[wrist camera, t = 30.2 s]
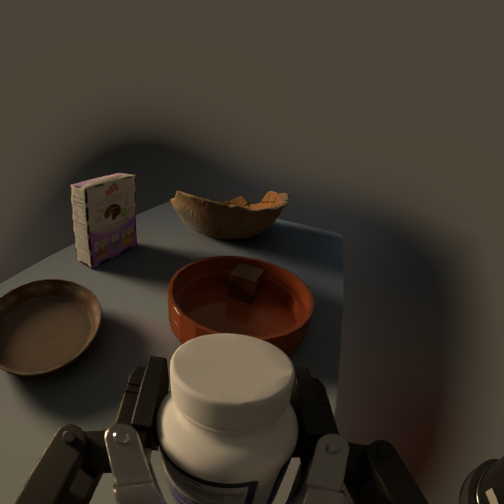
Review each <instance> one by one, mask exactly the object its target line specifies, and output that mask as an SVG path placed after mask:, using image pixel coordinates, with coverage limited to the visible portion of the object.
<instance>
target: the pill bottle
mask: <svg viewBox="0 0 504 504" xmlns="http://www.w3.org/2000/svg"><path fill="white" fill-rule="evenodd" d="M294 377H295V370H294V366H293V363H292V361H291V360H290V358H289V357H288V356H287V355H286V354H285V353H284V352H283V351H282V350H281V349H279V348H278V347H276V346H274V345H272V344H270V343H268V342H266V341H264V340H261V339H258V338H255V337H251V336H246V335H240V334H229V333H224V334H210V335H204V336H200V337H197V338H194V339H192V340H189V341H187V342H186V343H184V344H182V345H181V346H180V347H179V348H178V349H177V350H176V351H175V353H174V354H173V356H172V359H171V363H170V381H171V391H170V392H169V393H168V394H167V395H166V396H165V398H164V399H163V401H162V402H161V404H160V406H159V409H158V412H157V416H156V429H157V436H158V441H159V446H160V451H161V456H162V460H163V465H164V469H165V473H166V477H167V481H168V485H169V489H170V493H171V496H172V499H173V502H174V504H272V503H273V500H274V498H275V496H276V494H277V491H278V489H279V487H280V484H281V482H282V480H283V477H284V475H285V472H286V470H287V468H288V465H289V463H290V460H291V458H292V455H293V453H294V450H295V448H296V444H297V439H298V434H299V425H298V420H297V416H296V413H295V411H294V409H293V407H292V406H291V404H290V403H289V402H290V398H291V391H292V387H293V382H294Z"/></svg>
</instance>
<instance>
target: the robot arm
mask: <svg viewBox="0 0 504 504" xmlns="http://www.w3.org/2000/svg"><path fill="white" fill-rule="evenodd" d="M294 370H295V377H294V382H293V387H292V391H291V398H290V402H289V403H290V404H291V406H292V407H293V409H294V411H295V413H296V416H297V420H298V425H299V434H298V439H297V444H296V448H295V450H294V453H293V455H292V458H293V457H300V461H301V464H300V465H299V468H298V471H297V474H296V477H295V480H294V483H293V486H292V489H291V492H290V494H289V497H288V500H287V502H286V503H285V504H344V500H345V493H344V492H343V491H342V485H343V482H344V484H345V486H346V488H347V490H348V492H349V494H350V496H351V498H352V500H353V502H354V503H355V504H428V502H427V500H426V499H425V497H424V495H423V494H422V492H421V490H420V489H419V487H418V485H417V484H416V482H415V481H414V479H413V477H412V476H411V474H410V472H409V471H408V469H407V468H406V466H405V464H404V463H403V461H402V459H401V458H400V456H399V455H398V453H397V451H396V450H395V448H394V447H393V445H392V444H391V443H389V442H387V441H384V440H378V441H374V442H373V443H372V444H370V445H361V444H354V443H350V442H348V441H346V439H344V438H343V437H342V436H340V434H339V432H338V430H337V427H336V423H335V419H334V416H333V413H332V409H331V406H330V402H329V399H328V397H327V393H326V389H325V386H324V385H323V384H322V382H321V381H320V380H319V379H318V378H311V376H310V373H309V369H308V368H307V367H294ZM168 389H169V376H168V367H167V359H166V358H161V357H154V356H149V358H148V362H147V365H146V367H143V366H137V367H136V368H135V369H134V370H133V371H132V372H131V373H130V376H129V379H128V382H127V385H126V388H125V392H124V395H123V398H122V401H121V405H120V408H119V411H118V415H117V418H116V421H115V423H114V424H113V425H112V426H111V427H109V428H108V429H106V430H103V431H83V430H82V429H81V428H79V427H78V426H76V425H73V424H66V425H63V426H61V427H60V428H59V429H58V430H57V431H56V433H55V434H54V436H53V438H52V439H51V441H50V442H49V444H48V446H47V447H46V449H45V451H44V452H43V454H42V456H41V457H40V459H39V461H38V462H37V464H36V466H35V468H34V469H33V471H32V473H31V474H30V476H29V478H28V480H27V482H26V483H25V485H24V487H23V489H22V491H21V493H20V494H19V496H18V498H17V500H16V502H15V504H89V502H90V500H91V498H92V496H93V494H94V491H95V489H96V487H97V485H98V483H99V481H100V479H101V477H102V475H103V473H112V475H113V479H114V486H113V490H114V495H115V498H116V501H117V504H166V501H165V499H164V497H163V495H162V492H161V490H160V487H159V484H158V482H157V479H156V476H155V473H154V470H153V467H152V464H151V461H150V458H151V452H152V450H156V451H158V449H159V441H158V436H157V429H156V416H157V412H158V409H159V406H160V404H161V402H162V401H163V399H164V398H165V396H166V395H167V394H168ZM474 499H475V504H504V456H503V457H502V458H501V459H499V460H498V461H497V462H495V463H494V464H493V465H491V466H489V467H488V468H487V469H485V470H484V471H483V472H482V473H481V475H480V476H479V478H478V480H477V483H476V486H475V492H474Z"/></svg>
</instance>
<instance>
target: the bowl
mask: <svg viewBox="0 0 504 504" xmlns="http://www.w3.org/2000/svg"><path fill="white" fill-rule="evenodd" d="M239 263H242V264H246V265H250V266H253V267H257V268H260V269H264V274H263V280H262V286H261V291H260V293H259V295H258V296H257V298H256V300H255V301H254V303H253V304H249V303H246V302H243V301H240V300H237V299H233V298H230V297H228V287H229V278H230V273H231V272H232V271H233V270H234V269H235V268H236V267H237V265H238V264H239ZM313 309H314V301H313V295H312V293H311V292H310V290H309V288H308V286H307V285H306V284H305V283H304V282H303V281H302V280H301V279H300V278H299V277H297V276H296V275H294V274H293V273H291V272H290V271H288V270H286V269H284V268H282V267H279V266H277V265H275V264H273V263H269V262H266V261H262V260H259V259H253V258H248V257H239V256H218V257H209V258H205V259H200V260H197V261H194V262H192V263H189V264H187V265H185V266H184V267H182V268H181V269H179V270H178V271H177V272H176V273H175V274H174V276H173V277H172V278H171V280H170V282H169V287H168V314H169V321H170V325H171V328H172V331H173V333H174V334H175V335H176V337H177V338H178V340H179V341H180V342H181V343H182V344H184V343H186V342H187V341H189V340H192V339H194V338H197V337H200V336H204V335H210V334H224V333H229V334H240V335H246V336H251V337H255V338H258V339H261V340H264V341H266V342H268V343H270V344H272V345H274V346H276V347H278V348H279V349H281V350H282V351H283V352H284V353H285V354H286V355H287V356H289V355H291V354H293V353H294V351H295V350H296V349H297V348H298V347H299V346H300V345H301V344H302V342H303V340H304V337H305V334H306V331H307V328H308V325H309V322H310V319H311V316H312V313H313Z"/></svg>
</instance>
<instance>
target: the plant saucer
mask: <svg viewBox="0 0 504 504" xmlns="http://www.w3.org/2000/svg"><path fill="white" fill-rule="evenodd" d="M101 317H102V312H101V306H100V303H99V301H98V299H97V298H96V296H95V295H94V294H93V293H92V292H91V291H90V290H89V289H87V288H86V287H84V286H83V285H80V284H78V283H75V282H72V281H68V280H62V279H44V280H38V281H33V282H29V283H26V284H23V285H21V286H18V287H16V288H15V289H13V290H11V291H9V292H8V293H6V294H5V295H3V296H2V297H1V298H0V369H2V370H4V371H6V372H8V373H11V374H14V375H17V376H22V377H43V376H47V375H51V374H54V373H57V372H59V371H61V370H64V369H65V368H67V367H69V366H70V365H72V364H73V363H74V362H76V361H77V360H78V359H79V358H80V357H81V356H82V355H83V354H84V353H85V352H86V351H87V350H88V348H89V347H90V346H91V344H92V342H93V341H94V339H95V337H96V335H97V332H98V330H99V327H100V323H101Z"/></svg>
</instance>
